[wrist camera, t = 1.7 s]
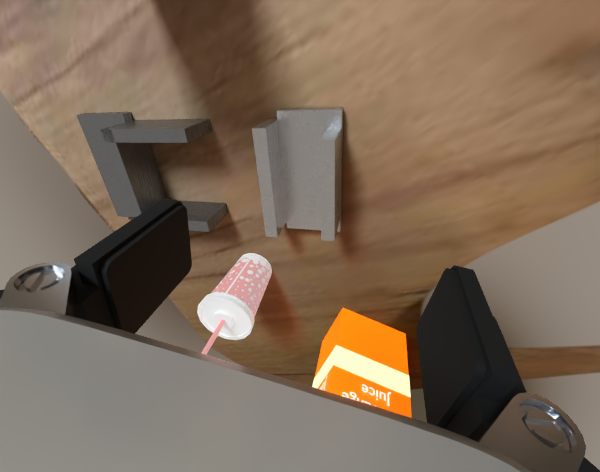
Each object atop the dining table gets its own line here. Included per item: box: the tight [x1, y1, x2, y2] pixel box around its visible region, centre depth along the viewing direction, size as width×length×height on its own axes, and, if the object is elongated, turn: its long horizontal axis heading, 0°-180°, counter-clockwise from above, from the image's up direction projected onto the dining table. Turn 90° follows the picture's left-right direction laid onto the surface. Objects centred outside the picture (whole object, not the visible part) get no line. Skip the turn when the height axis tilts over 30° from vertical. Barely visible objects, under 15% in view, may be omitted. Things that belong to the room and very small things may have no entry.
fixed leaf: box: [77, 112, 228, 232], centre depth 33 cm, size 15×12×4 cm
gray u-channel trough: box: [252, 108, 343, 241], centre depth 28 cm, size 7×12×5 cm, turn 3°
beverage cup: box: [197, 253, 272, 355], centre depth 33 cm, size 6×6×14 cm
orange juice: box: [312, 308, 412, 418], centre depth 33 cm, size 8×9×20 cm
